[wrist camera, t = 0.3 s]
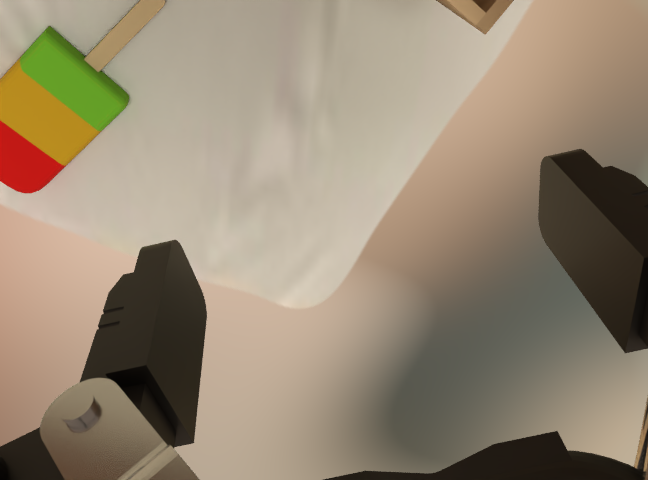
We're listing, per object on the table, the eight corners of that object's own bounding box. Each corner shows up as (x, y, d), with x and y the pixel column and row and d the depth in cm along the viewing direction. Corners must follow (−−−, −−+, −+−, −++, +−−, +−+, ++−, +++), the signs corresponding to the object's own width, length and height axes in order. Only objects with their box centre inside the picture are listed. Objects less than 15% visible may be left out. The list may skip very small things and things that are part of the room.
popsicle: (-48, 131, 32) (-61, 145, 31) (121, -54, 28) (116, -48, 27) (36, 188, 35) (29, 204, 34) (200, 28, 31) (199, 37, 30)
